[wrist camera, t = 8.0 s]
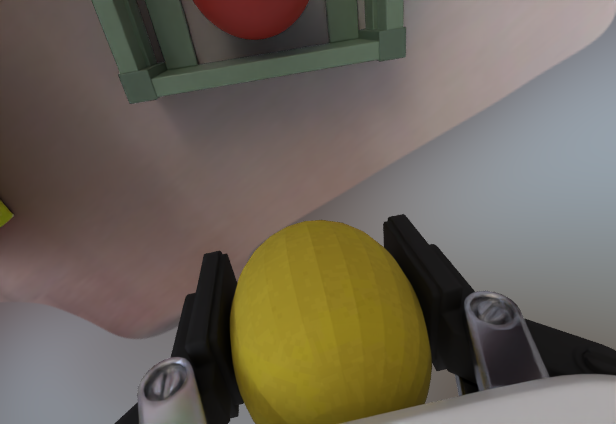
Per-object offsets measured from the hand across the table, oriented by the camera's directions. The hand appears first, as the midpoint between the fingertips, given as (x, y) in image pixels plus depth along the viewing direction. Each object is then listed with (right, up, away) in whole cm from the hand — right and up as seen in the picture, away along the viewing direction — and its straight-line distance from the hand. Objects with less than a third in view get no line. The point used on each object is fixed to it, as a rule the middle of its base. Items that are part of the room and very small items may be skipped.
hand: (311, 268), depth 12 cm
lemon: (0, +1, +1) cm, 2 cm away
